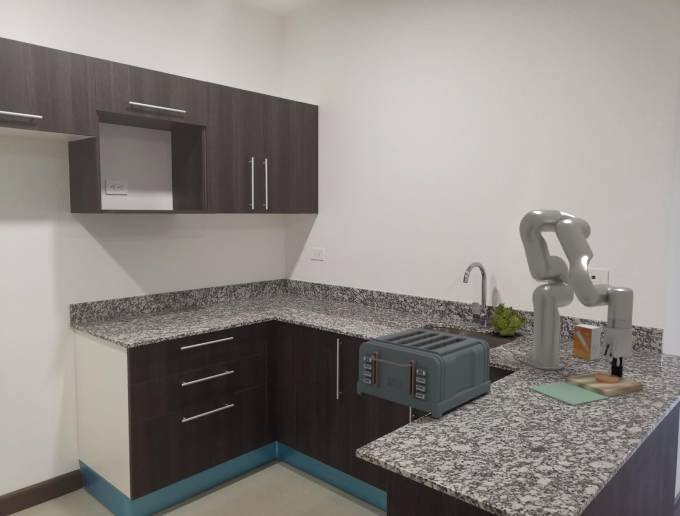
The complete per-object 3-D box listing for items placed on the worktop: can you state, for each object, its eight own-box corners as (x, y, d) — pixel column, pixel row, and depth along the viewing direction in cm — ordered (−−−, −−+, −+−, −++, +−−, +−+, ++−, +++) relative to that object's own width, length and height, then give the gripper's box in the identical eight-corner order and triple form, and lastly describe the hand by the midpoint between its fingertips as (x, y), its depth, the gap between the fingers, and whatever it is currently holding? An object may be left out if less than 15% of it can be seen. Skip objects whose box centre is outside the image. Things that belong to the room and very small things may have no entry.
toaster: (347, 396, 172) (348, 341, 170) (413, 373, 198) (414, 325, 197) (429, 422, 151) (431, 359, 150) (490, 392, 177) (492, 338, 176)
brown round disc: (591, 378, 186) (591, 374, 185) (604, 376, 189) (604, 372, 189) (609, 384, 179) (610, 380, 179) (623, 381, 183) (623, 377, 183)
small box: (572, 356, 224) (573, 324, 222) (582, 354, 227) (583, 323, 226) (590, 360, 217) (591, 328, 216) (600, 358, 220) (601, 327, 219)
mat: (528, 388, 181) (528, 387, 181) (562, 382, 188) (562, 381, 188) (573, 405, 165) (573, 404, 165) (608, 398, 172) (608, 397, 172)
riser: (565, 383, 187) (565, 377, 187) (600, 376, 195) (601, 371, 195) (606, 397, 173) (606, 391, 173) (642, 389, 181) (643, 384, 181)
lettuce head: (520, 342, 247) (522, 307, 246) (486, 338, 254) (487, 304, 253) (527, 334, 263) (528, 301, 262) (494, 331, 270) (495, 299, 269)
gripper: (623, 320, 192) (620, 371, 193) (594, 323, 185) (592, 376, 186) (643, 323, 185) (640, 376, 186) (614, 327, 178) (611, 382, 180)
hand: (616, 376), depth 186 cm, fingers closed
